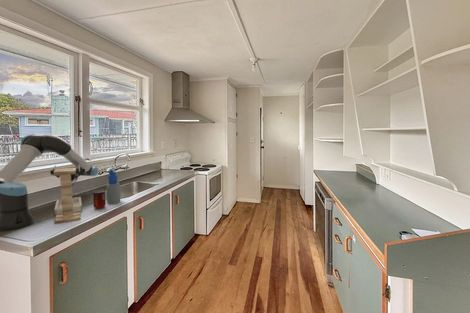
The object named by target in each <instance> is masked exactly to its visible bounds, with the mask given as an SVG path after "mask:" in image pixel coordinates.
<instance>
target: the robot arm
mask: <svg viewBox="0 0 470 313" xmlns="http://www.w3.org/2000/svg"><path fill="white" fill-rule="evenodd" d="M19 147H20V150H19V151H18V152H17V153H16V154H15V155H14V157H12V158H11V159H10V161H8V162H7V164H6V165H5V166H3V168H2V169H1V170H0V231H11V230H17V229H21V228H25V227H28V226H30V225H31V224H33V223H34V217H33V215H32V213H31V211H30V208H29V199H28V198H29V197H28V189H27V188H28V187H27V185H26V184H25V183H22V182H21V183H20V182H15V181H16V180H17V179H18V178H19V177H20V176H21V175H22V173H23V172H24V171H25V170H26V169H27V168H28V167H29V166H30V165H31V163H32V162H33V161H34V160H35V158H40V157H41V156H42V155H43V153H49V152H50V153H56V154H57V155H59V156H61V157H64V158H65V159H66V160H67V161H68V162H69V163H71V165H75V166H76V167H75V168H76V174H71V185H72V186H73V185H75V183H76V184H77V180H78V178H79V177H82V176H84V177H85V176H86V177H94V176H97V175H98V174H99V168H98V167H97V166H92V165H91V164H90V163H89V162H87V161H86V160H85V159H84V158H83V157H82V156H81V155H80V154H78V153H77V151H75V149H73V148H72V145H71V144H70V143H68V142H67V141H66V140H65V139H63V138H61V137H59V136H58V135H53V134H34V133H33V134H27V135H25V136H24V137H22V139H21V140H20V146H19ZM55 169H58V168H57V166H56V165H54V168H52V170H50V172H49V173H50V175H52V176H54V170H55ZM55 177H57V178H58V179H60V175H56V176H55ZM75 186H76V185H75Z"/></svg>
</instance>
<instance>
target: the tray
mask: <svg viewBox="0 0 470 313" xmlns="http://www.w3.org/2000/svg"><path fill="white" fill-rule="evenodd" d="M72 200H73V213H75V212H80V213H82V212H83V209H82V208H83V207H82V197H81V196H77V197H72ZM53 210H54V216H55V217H56V215H62V199H56V202H55V206H54V209H53Z"/></svg>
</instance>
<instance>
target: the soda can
mask: <svg viewBox="0 0 470 313" xmlns="http://www.w3.org/2000/svg"><path fill="white" fill-rule="evenodd" d="M92 195H93V196H92V197H93V207H94V208H95V209H94V210H101V209H104V208H105V207H106V203H107V201H106V190H104V189H97V190H94V191H93V192H92Z"/></svg>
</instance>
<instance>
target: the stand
mask: <svg viewBox="0 0 470 313" xmlns="http://www.w3.org/2000/svg"><path fill="white" fill-rule="evenodd" d="M54 169H55V168H54ZM71 174H76V168H71V167H64V168H61V167H60V168H57V169H55V170H54V175H53V176H54V177H56V175H60V178H59V181H60V183H59V184H60V197H61V199H62V215H56V216H55V219H54V224H55V225H58V224H63V223H64V222H65V223H69V222H74V221H75V222H77V221H80V220H81V219H82V218H81V212H75V213H73V201H72V198H73V188H72V185H71Z"/></svg>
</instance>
